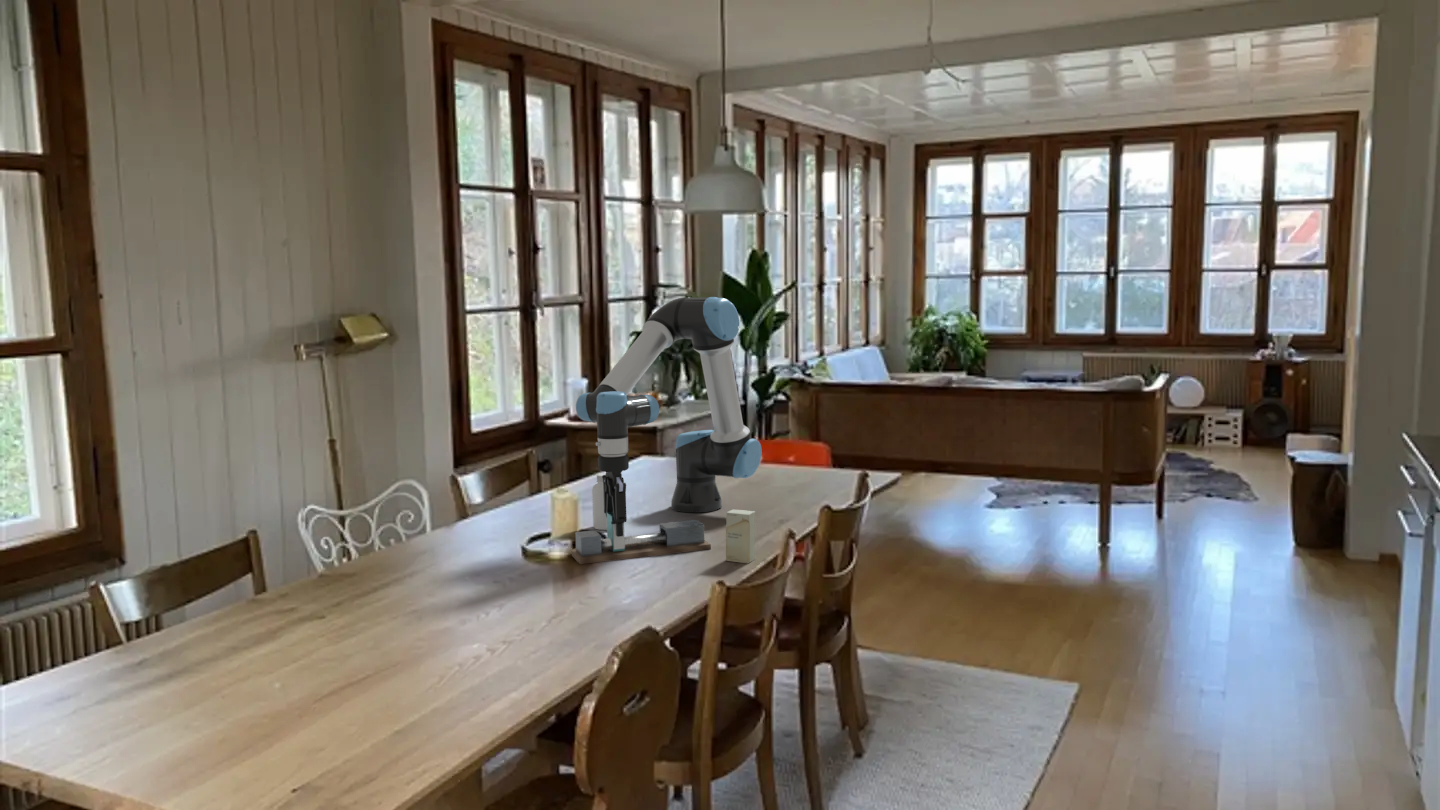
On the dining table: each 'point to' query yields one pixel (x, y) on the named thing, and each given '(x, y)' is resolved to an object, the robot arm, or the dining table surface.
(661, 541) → the sliding bolt
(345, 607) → the dining table surface
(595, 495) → the pill bottle
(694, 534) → the sleeve
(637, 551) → the board
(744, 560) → the skincare box
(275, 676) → the dining table surface
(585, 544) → the grey cube
